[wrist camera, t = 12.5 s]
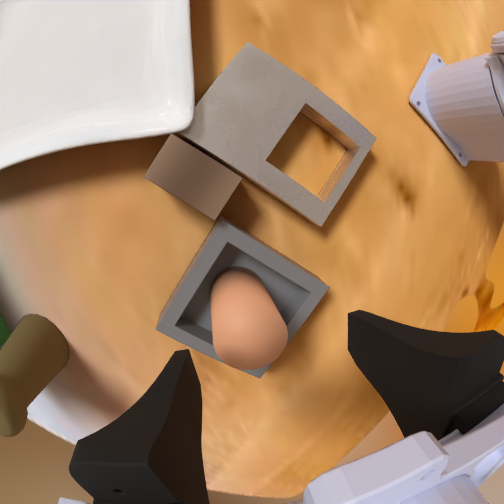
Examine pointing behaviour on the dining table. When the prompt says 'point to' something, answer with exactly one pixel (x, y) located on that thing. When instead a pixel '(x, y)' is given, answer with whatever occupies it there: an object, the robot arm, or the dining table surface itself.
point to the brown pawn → (28, 368)
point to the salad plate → (92, 73)
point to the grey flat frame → (273, 128)
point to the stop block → (192, 176)
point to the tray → (230, 255)
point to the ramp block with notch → (3, 331)
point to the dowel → (245, 320)
